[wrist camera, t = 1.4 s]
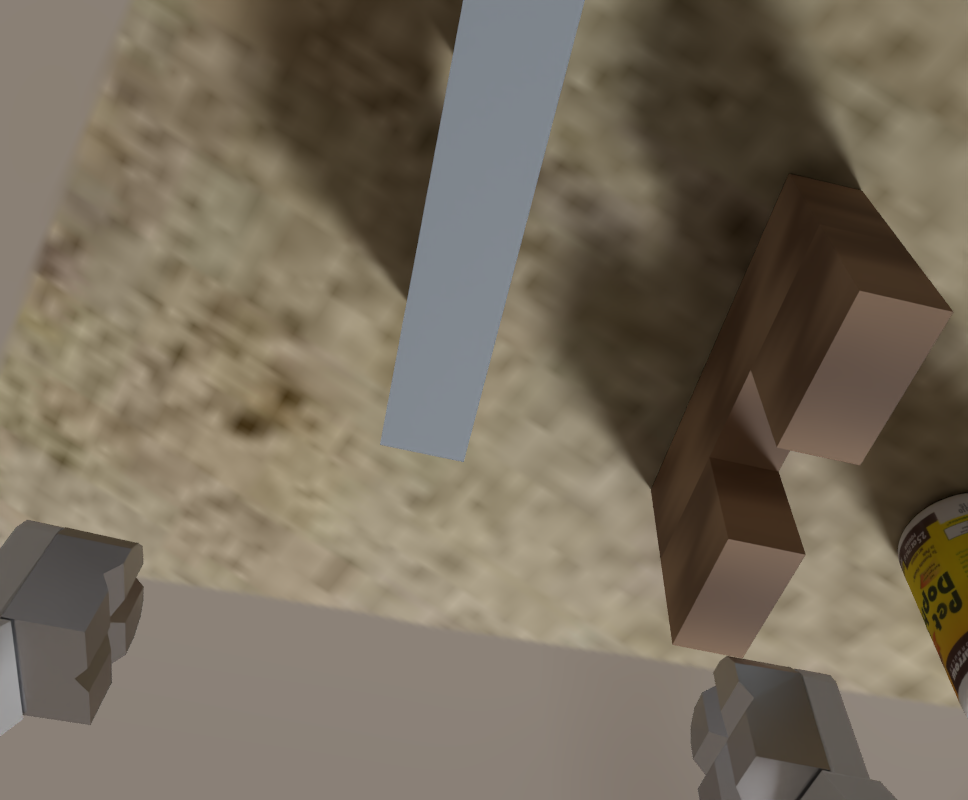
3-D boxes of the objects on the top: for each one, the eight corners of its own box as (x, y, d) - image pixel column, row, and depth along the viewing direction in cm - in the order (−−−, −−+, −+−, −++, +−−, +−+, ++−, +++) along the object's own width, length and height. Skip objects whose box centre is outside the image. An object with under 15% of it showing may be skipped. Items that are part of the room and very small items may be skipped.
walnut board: (789, 173, 28) (859, 290, 22) (861, 190, 29) (953, 312, 22) (650, 490, 37) (672, 644, 30) (708, 502, 37) (742, 658, 30)
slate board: (498, -122, 24) (479, -85, 18) (586, -99, 24) (598, -55, 18) (415, 310, 32) (379, 444, 26) (481, 324, 32) (463, 462, 26)
